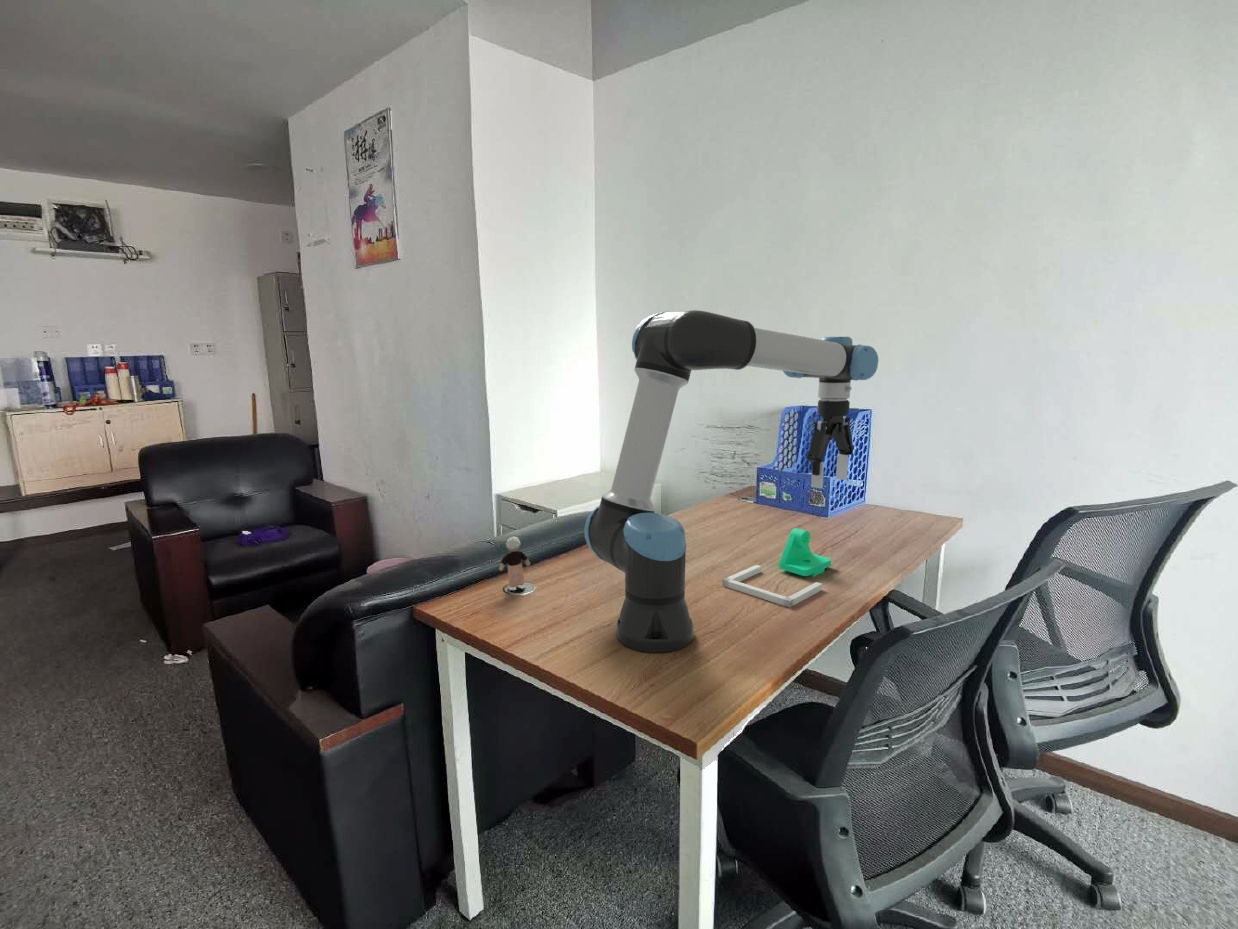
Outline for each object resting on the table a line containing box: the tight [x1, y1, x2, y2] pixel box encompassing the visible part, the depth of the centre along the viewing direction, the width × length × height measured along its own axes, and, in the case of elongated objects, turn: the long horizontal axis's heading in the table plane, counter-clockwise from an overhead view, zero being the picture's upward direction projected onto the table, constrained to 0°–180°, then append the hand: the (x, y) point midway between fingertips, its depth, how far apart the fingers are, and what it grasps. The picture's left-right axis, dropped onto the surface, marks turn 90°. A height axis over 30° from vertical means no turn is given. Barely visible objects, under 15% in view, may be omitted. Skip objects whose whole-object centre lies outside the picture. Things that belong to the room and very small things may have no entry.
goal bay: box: [721, 564, 823, 609], centre depth 147 cm, size 14×18×2 cm
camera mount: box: [778, 527, 832, 577], centre depth 157 cm, size 12×8×10 cm, turn 130°
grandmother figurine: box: [498, 536, 531, 588], centre depth 147 cm, size 8×4×13 cm, turn 134°
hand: (829, 483), depth 161 cm, fingers open, 12 cm apart
